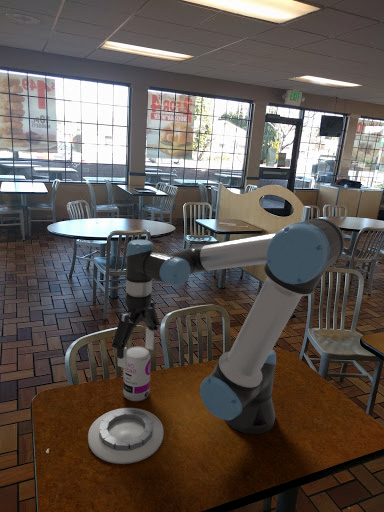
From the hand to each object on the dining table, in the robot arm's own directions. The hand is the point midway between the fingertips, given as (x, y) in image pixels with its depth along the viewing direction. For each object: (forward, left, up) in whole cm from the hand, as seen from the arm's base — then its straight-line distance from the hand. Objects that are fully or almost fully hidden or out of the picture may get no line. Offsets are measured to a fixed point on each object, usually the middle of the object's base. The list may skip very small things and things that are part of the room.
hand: (136, 357), depth 120 cm
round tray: (-9, +16, -13) cm, 23 cm away
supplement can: (0, 0, -13) cm, 13 cm away
